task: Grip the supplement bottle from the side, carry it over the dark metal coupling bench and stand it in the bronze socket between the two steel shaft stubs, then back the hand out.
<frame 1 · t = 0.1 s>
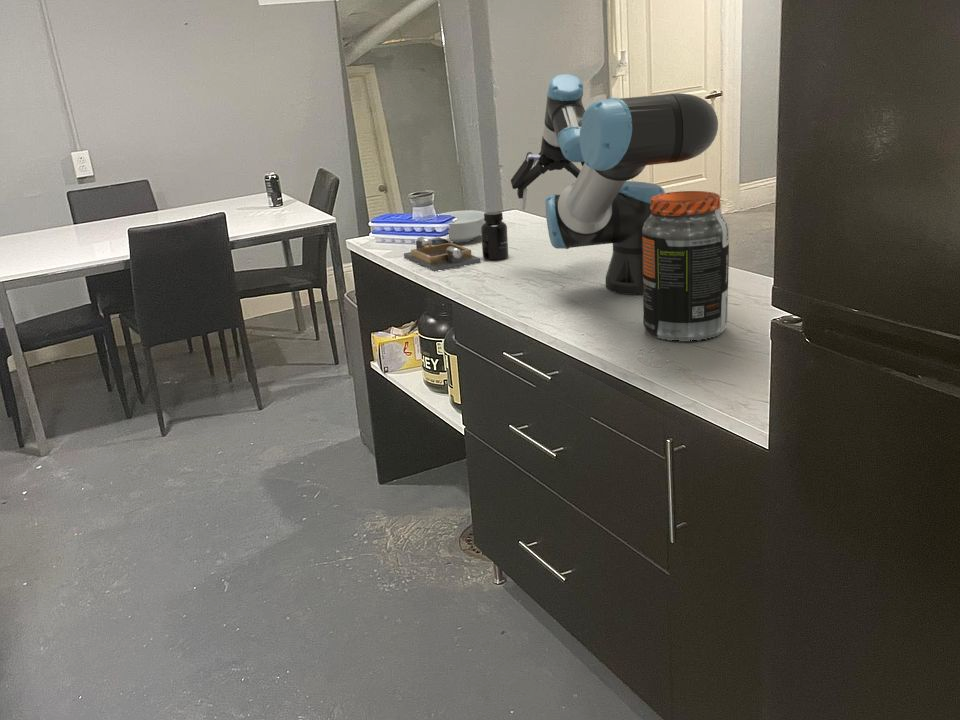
hand: (549, 203, 224), 15 cm above the worktop, tool tilted 35°, fingers open, 13 cm apart
supplement tub: (684, 331, 173), on the worktop
coupling bench: (441, 260, 240), on the worktop
cereal bowl: (460, 240, 262), on the worktop
supplement bottle: (495, 258, 238), on the worktop
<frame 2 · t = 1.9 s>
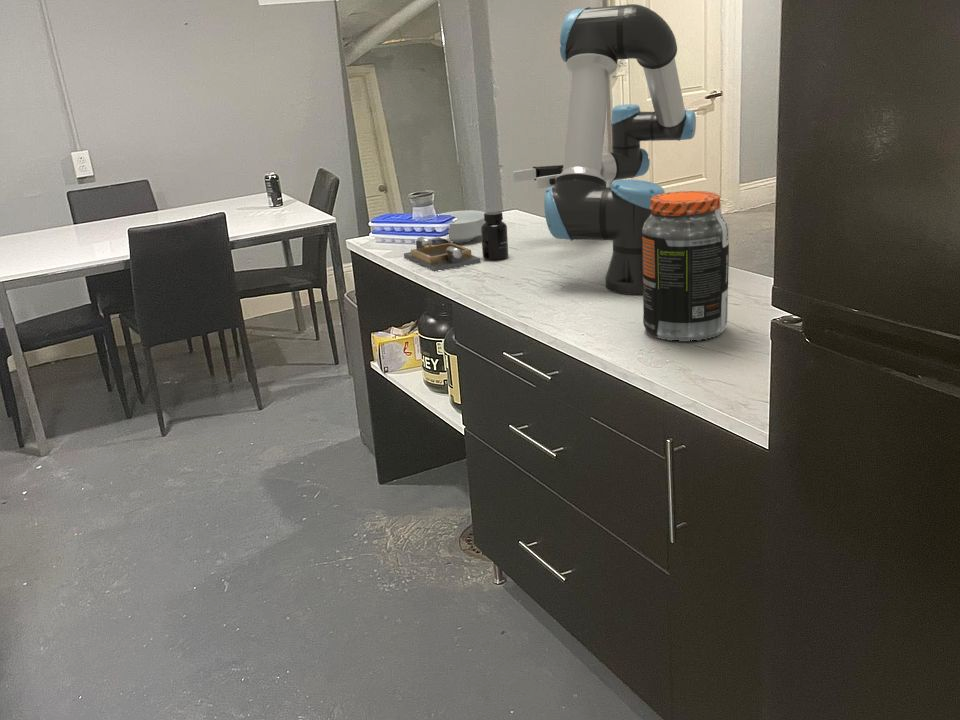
hand: (524, 179, 235), 19 cm above the worktop, tool horizontal, fingers open, 13 cm apart
nothing on the worktop moved.
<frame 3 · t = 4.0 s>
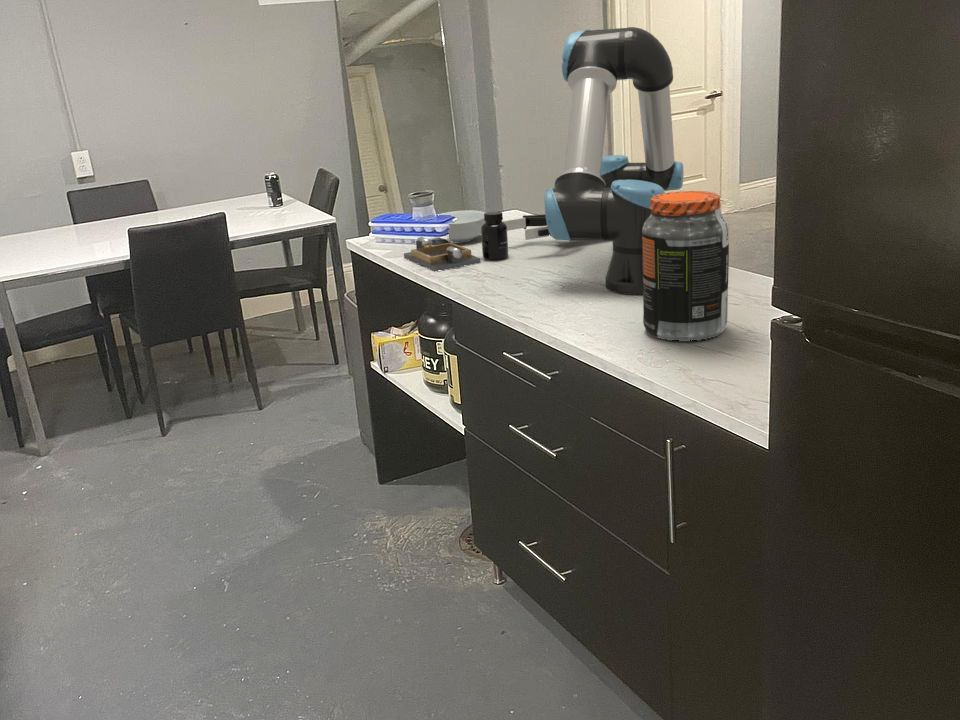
hand: (514, 230, 239), 6 cm above the worktop, tool horizontal, fingers open, 13 cm apart
nothing on the worktop moved.
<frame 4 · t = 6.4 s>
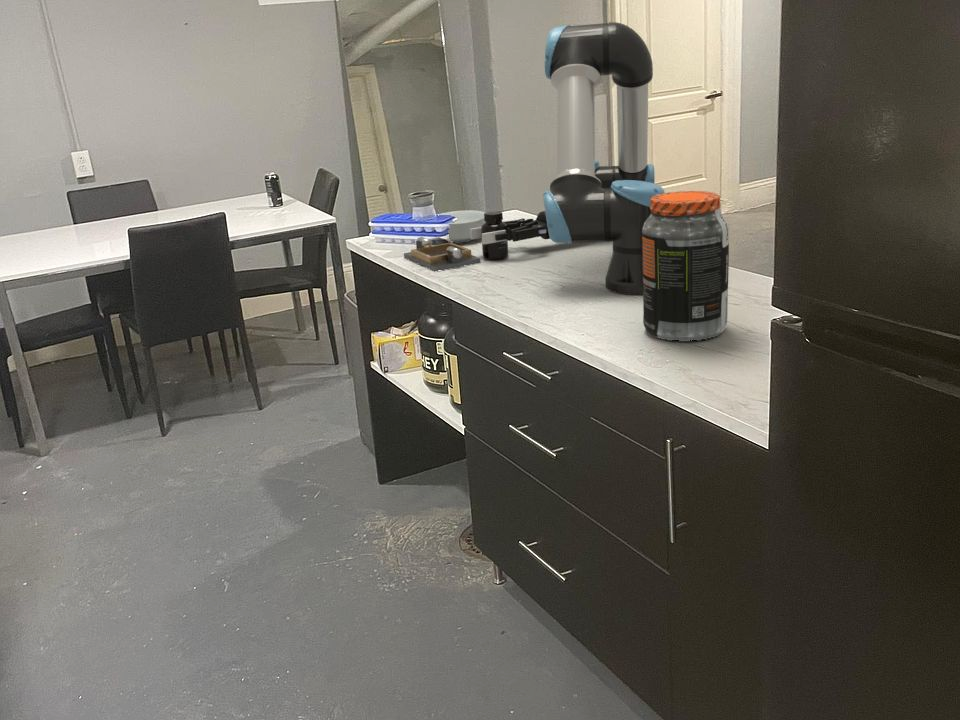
hand: (476, 236, 234), 7 cm above the worktop, tool horizontal, fingers closed on supplement bottle, 7 cm apart
supplement bottle: (495, 258, 238), on the worktop, touching gripper
everything else where it was.
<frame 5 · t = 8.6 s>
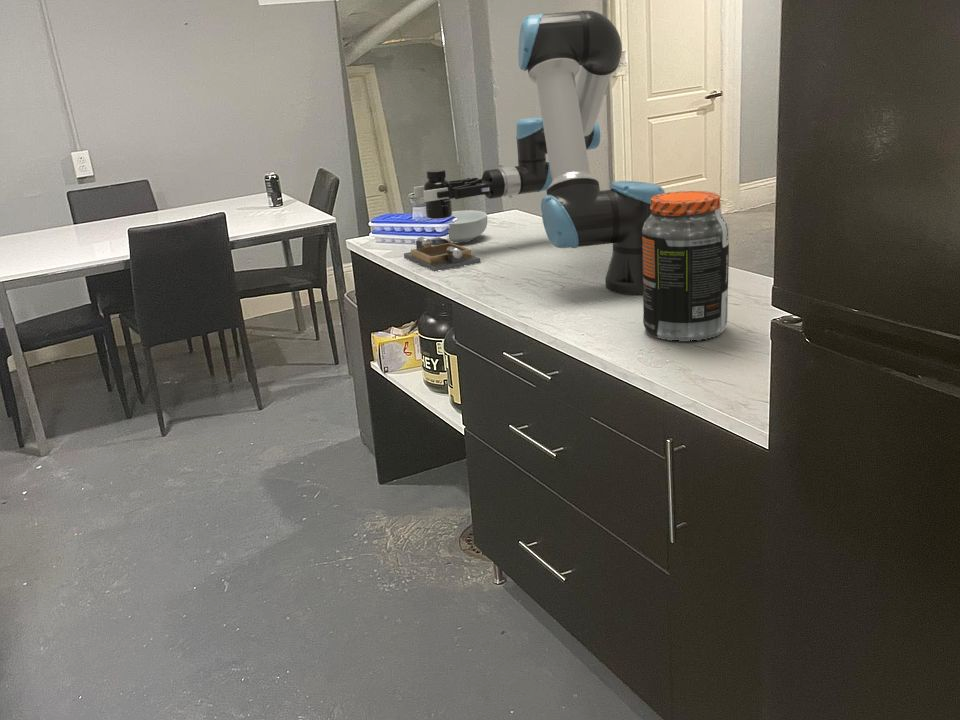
hand: (419, 194, 232), 18 cm above the worktop, tool horizontal, fingers closed on supplement bottle, 7 cm apart
supplement bottle: (439, 217, 237), point 11 cm above the worktop, touching gripper
everything else where it was.
when the fingers open (9 cm above the worktop, at t = 10.7 s): supplement bottle drops 1 cm, resting on coupling bench.
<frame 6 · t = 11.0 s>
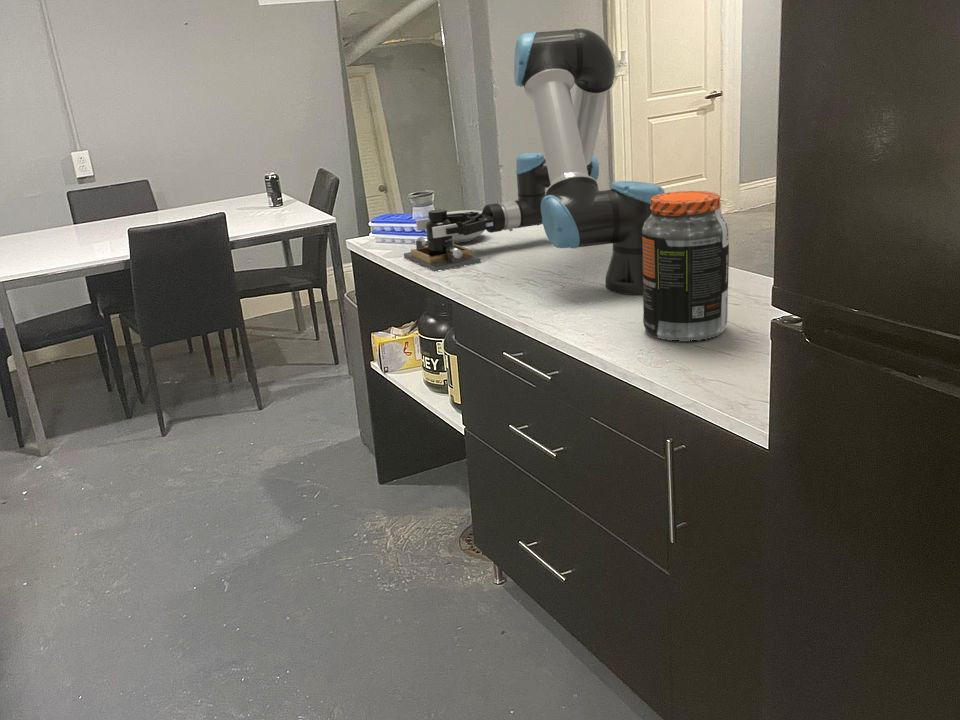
hand: (424, 229, 236), 9 cm above the worktop, tool horizontal, fingers open, 11 cm apart
supplement bottle: (441, 256, 240), point 1 cm above the worktop, touching coupling bench
everything else where it was.
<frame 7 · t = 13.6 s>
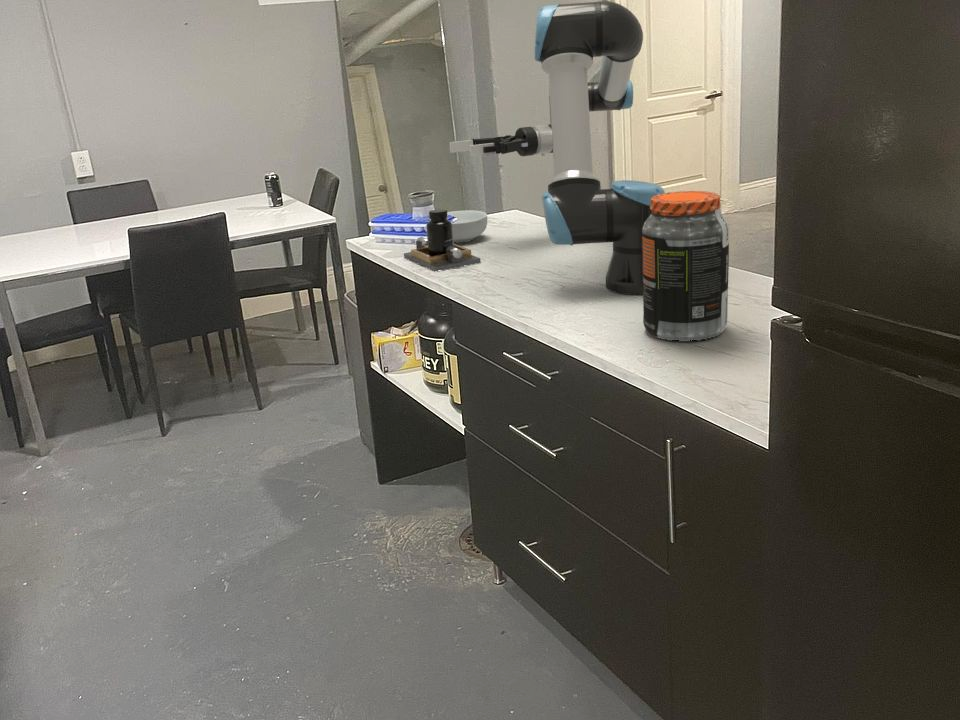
hand: (459, 149, 234), 28 cm above the worktop, tool horizontal, fingers open, 13 cm apart
nothing on the worktop moved.
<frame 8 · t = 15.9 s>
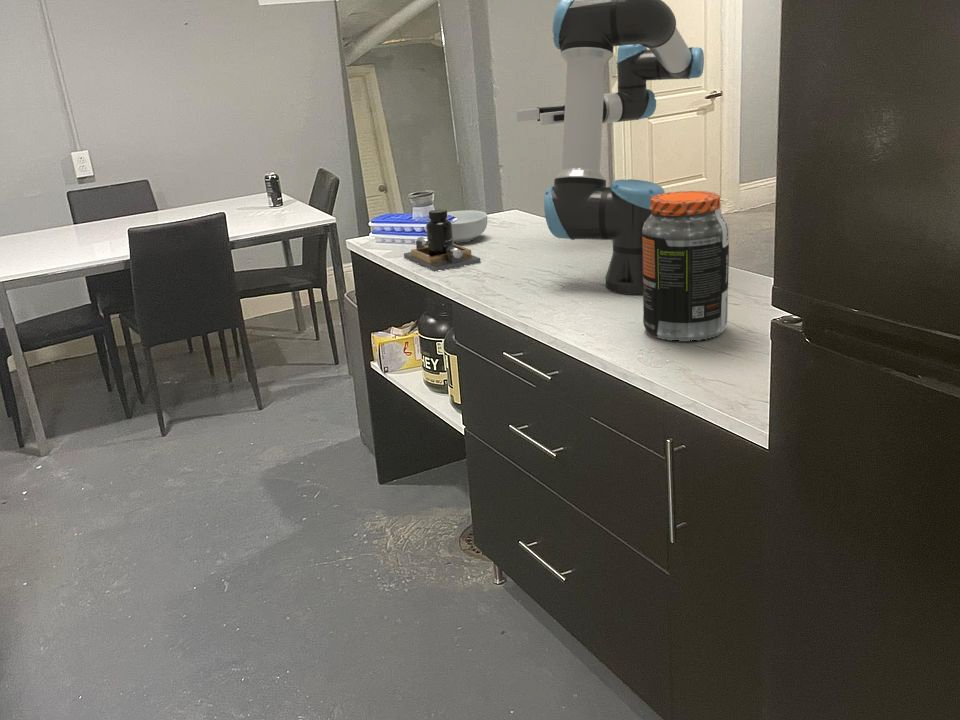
hand: (528, 117, 228), 35 cm above the worktop, tool horizontal, fingers open, 13 cm apart
nothing on the worktop moved.
at the end: supplement bottle inside the target area on the coupling bench (0.1 cm from its centre), point 1.0 cm above the coupling bench's base; supplement bottle tilted 0°; the gripper is holding nothing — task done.
